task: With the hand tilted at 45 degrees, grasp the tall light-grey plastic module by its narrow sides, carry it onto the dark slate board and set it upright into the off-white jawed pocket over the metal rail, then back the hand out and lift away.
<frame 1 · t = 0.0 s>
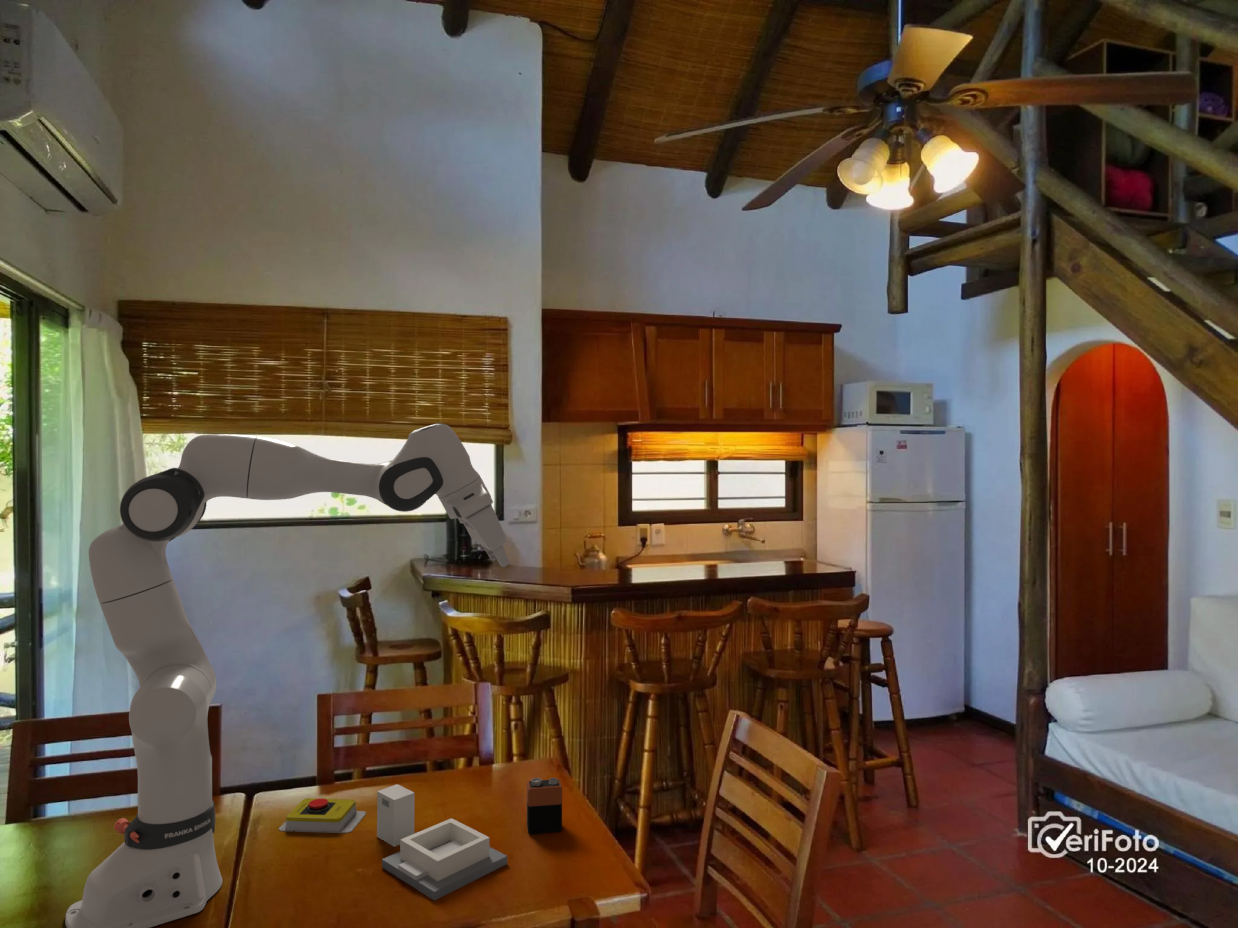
hand: (500, 561, 153), 54 cm above the table, tool tilted 30°, fingers open, 8 cm apart
module: (395, 837, 154), on the table
emergency button: (323, 824, 161), on the table
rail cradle: (444, 865, 144), on the table
battery: (544, 829, 158), on the table
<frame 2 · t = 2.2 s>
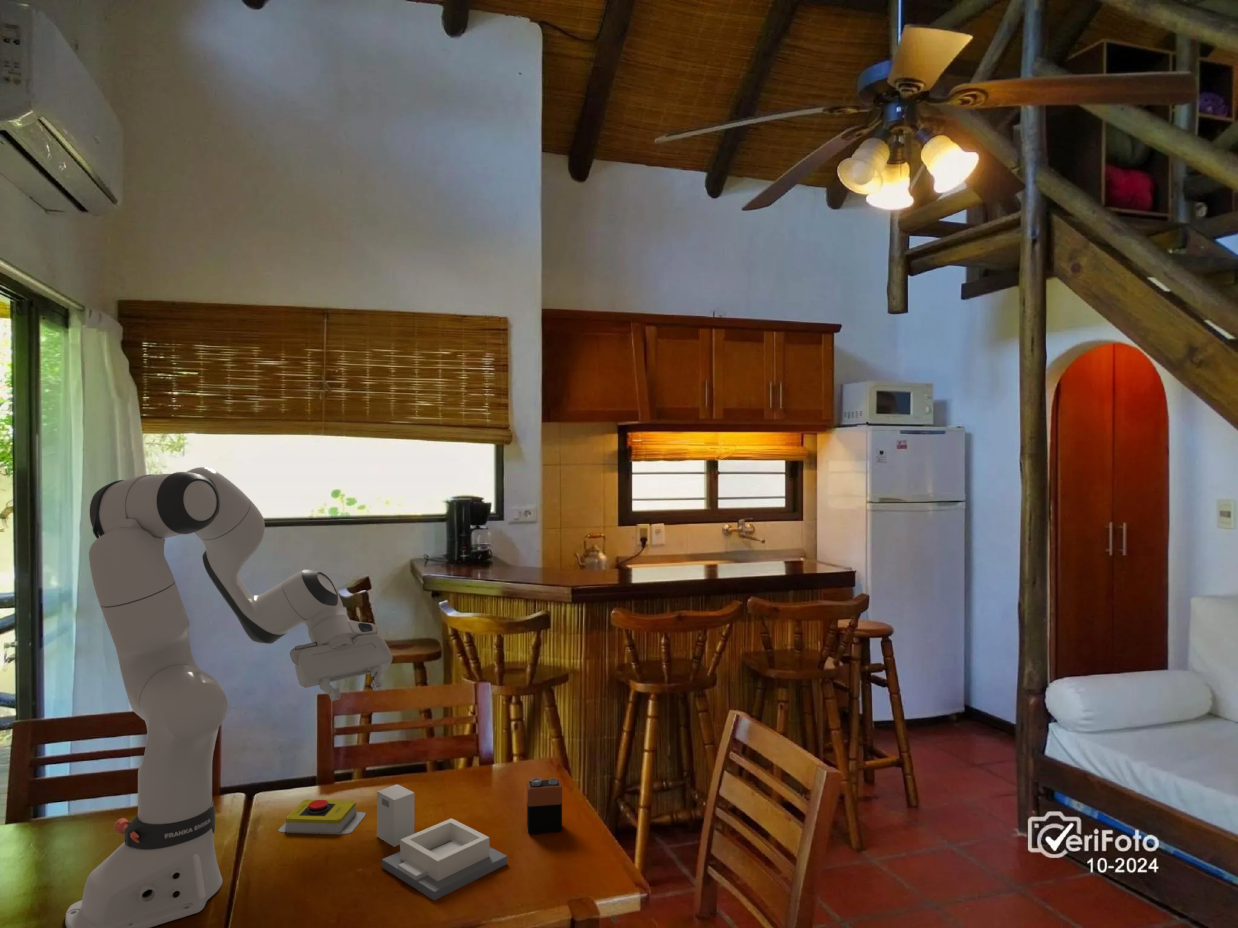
hand: (357, 693, 163), 25 cm above the table, tool tilted 45°, fingers open, 8 cm apart
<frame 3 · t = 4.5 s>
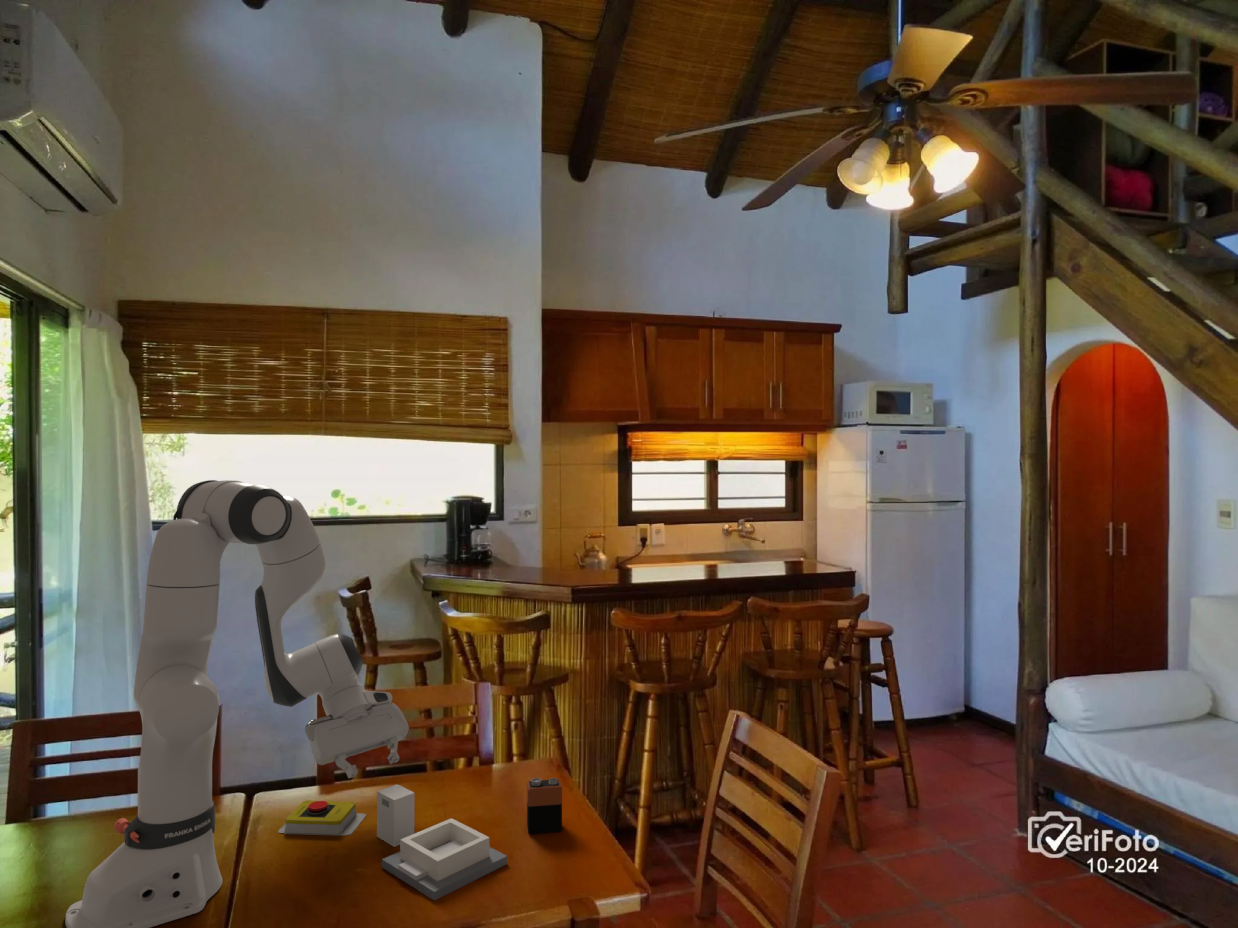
hand: (374, 768, 159), 11 cm above the table, tool tilted 45°, fingers open, 8 cm apart
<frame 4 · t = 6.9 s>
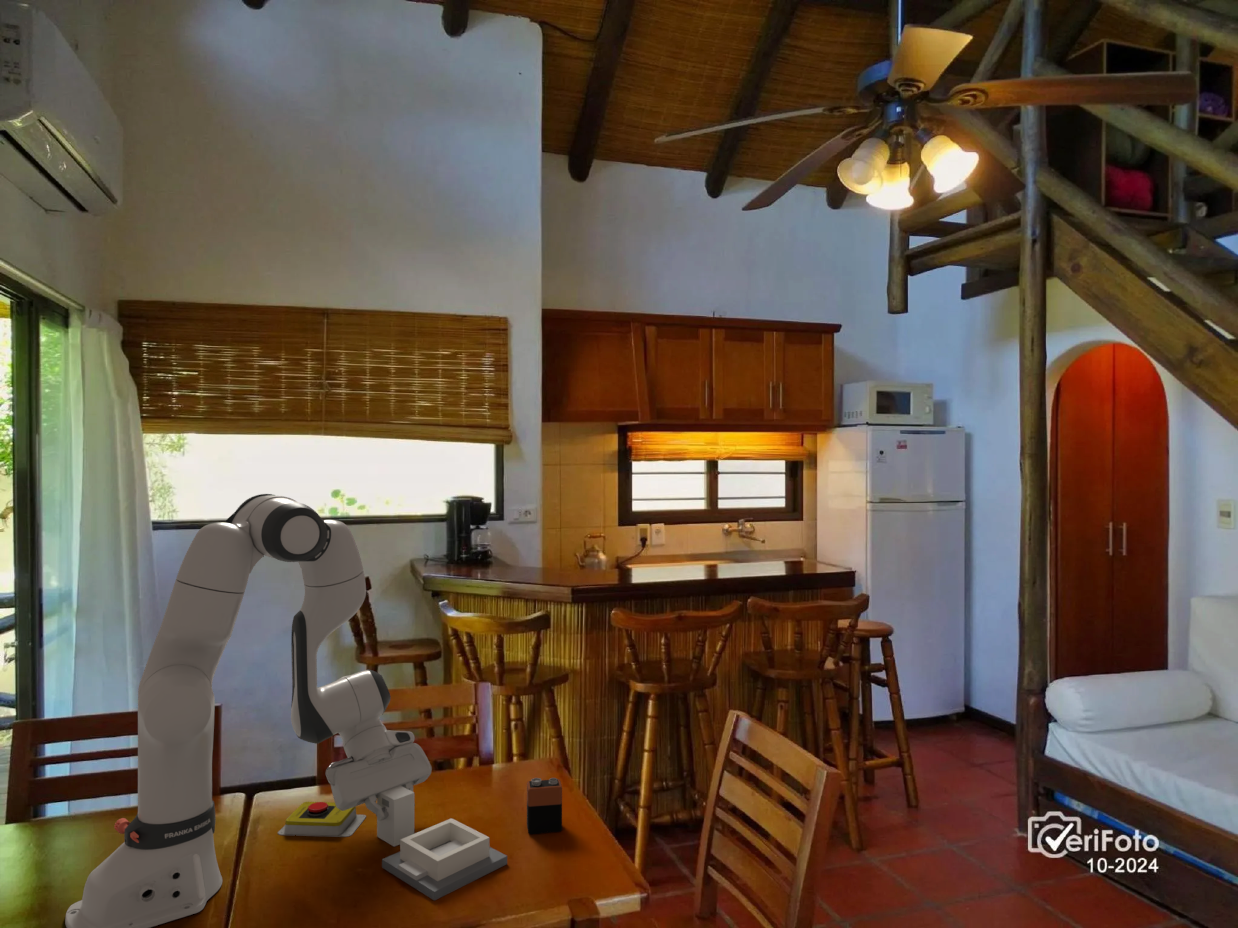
hand: (397, 813, 154), 5 cm above the table, tool tilted 45°, fingers closed on module, 4 cm apart
module: (395, 837, 154), on the table, touching gripper
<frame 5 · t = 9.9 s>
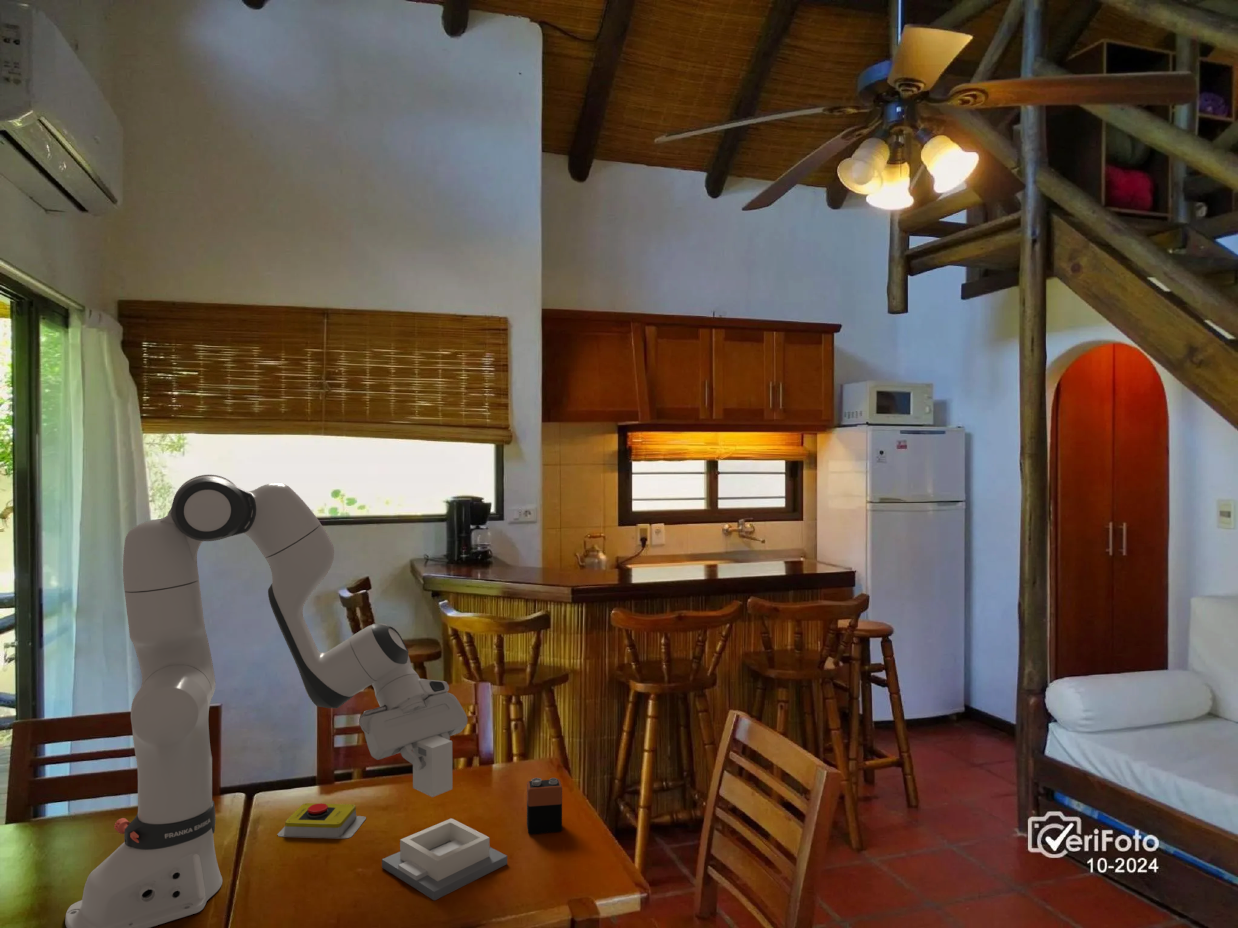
hand: (434, 763, 146), 18 cm above the table, tool tilted 45°, fingers closed on module, 4 cm apart
module: (432, 788, 147), point 13 cm above the table, touching gripper
when the fingers open (9 cm above the table, at t = 12.8 s): module drops 1 cm, resting on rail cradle.
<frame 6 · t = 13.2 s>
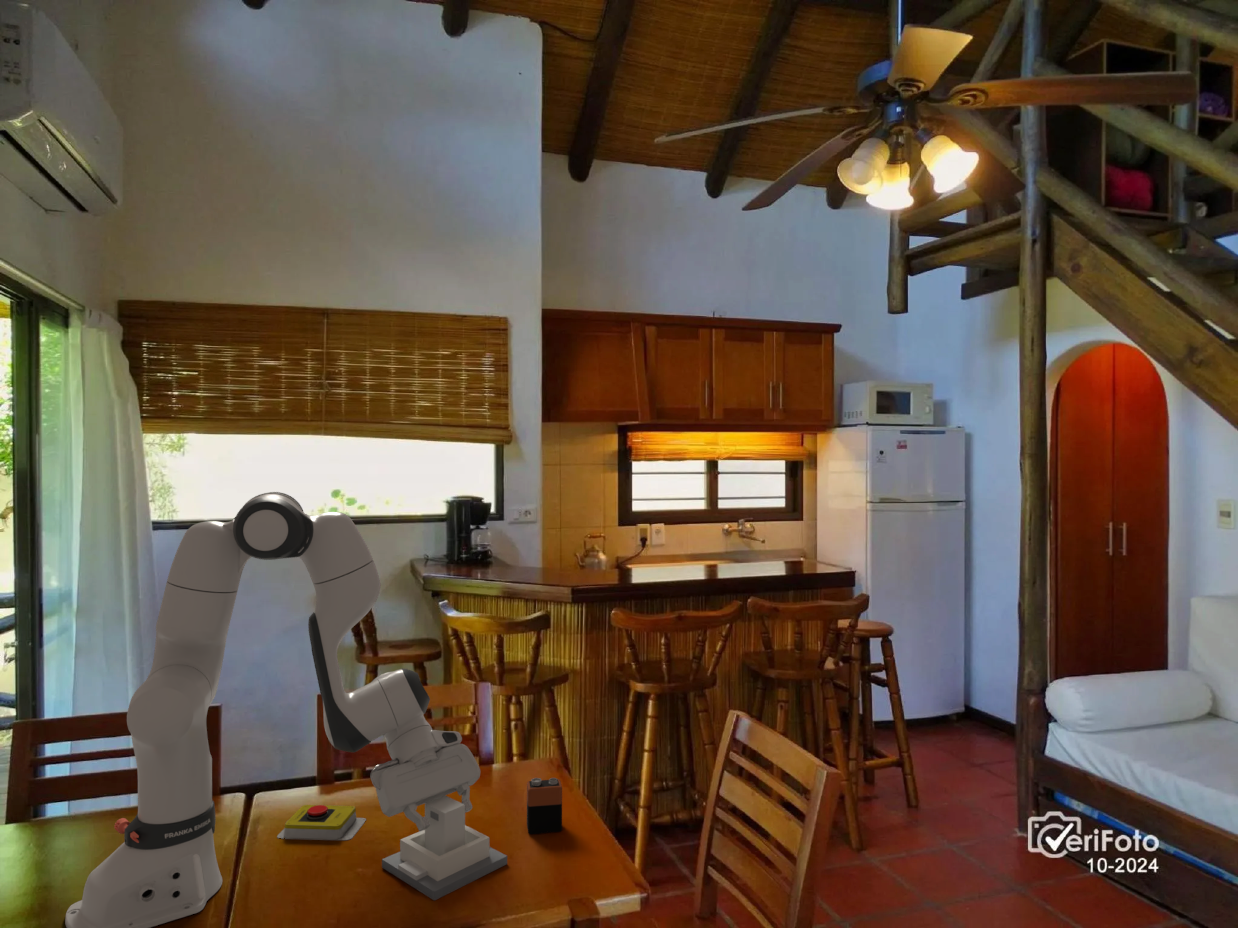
hand: (447, 819, 143), 9 cm above the table, tool tilted 45°, fingers open, 8 cm apart
module: (444, 852, 144), point 2 cm above the table, touching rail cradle
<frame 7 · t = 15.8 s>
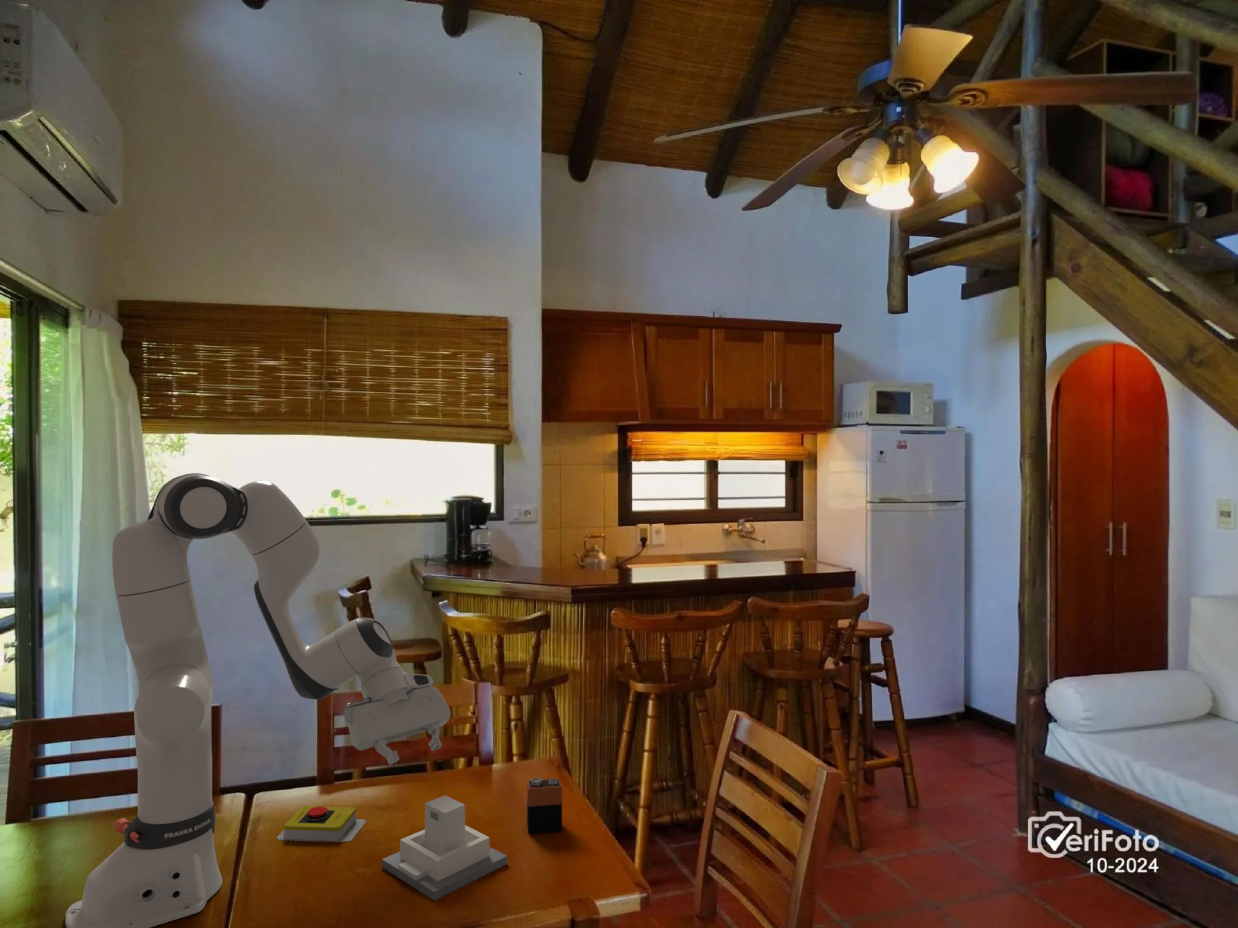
hand: (416, 755, 149), 18 cm above the table, tool tilted 45°, fingers open, 8 cm apart
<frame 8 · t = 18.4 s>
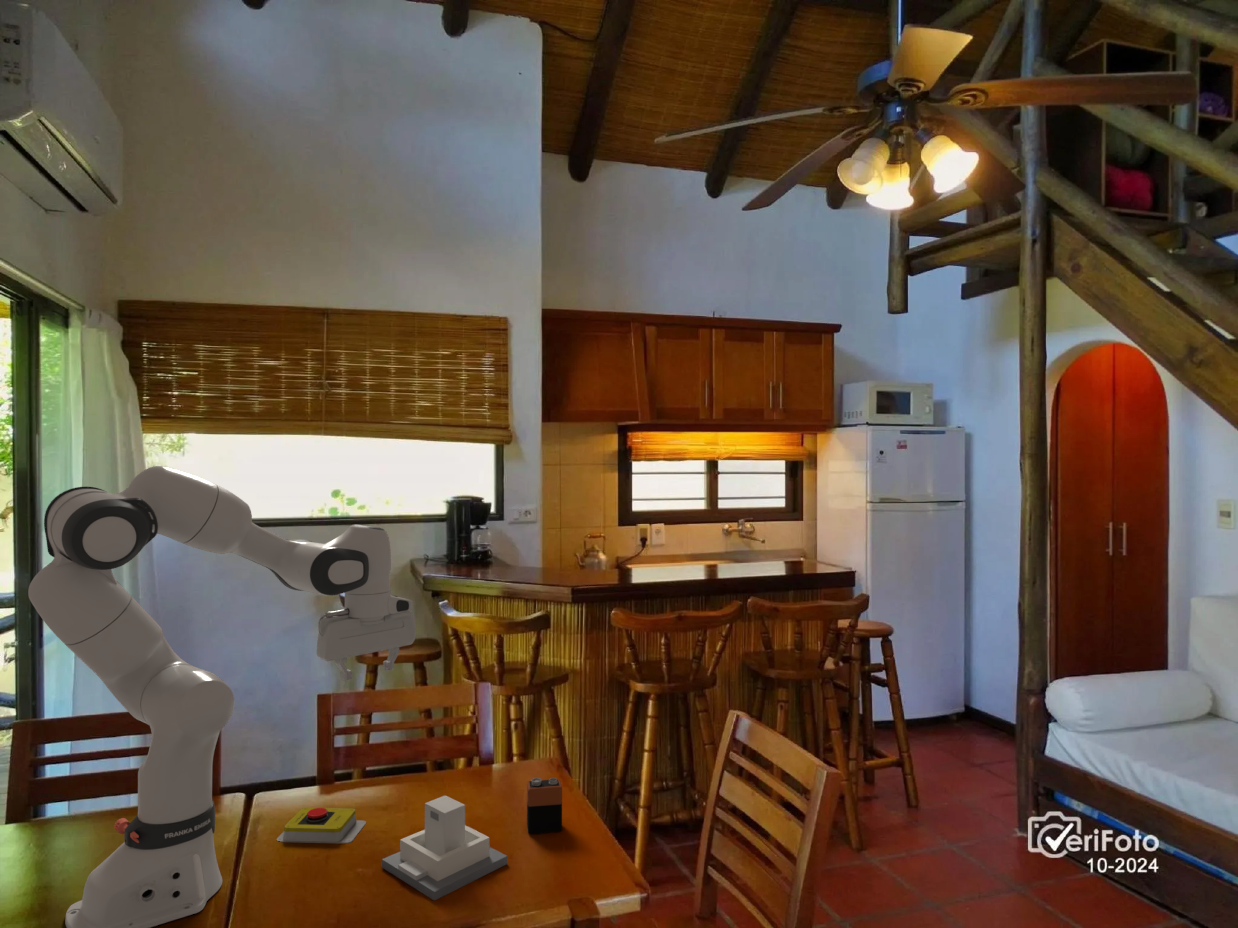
hand: (367, 674, 157), 31 cm above the table, tool pointing down, fingers open, 8 cm apart
at the end: module 0.1 cm off-centre on the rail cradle, point 2.3 cm above the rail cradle's base; module tilted 0°; the gripper is holding nothing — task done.
